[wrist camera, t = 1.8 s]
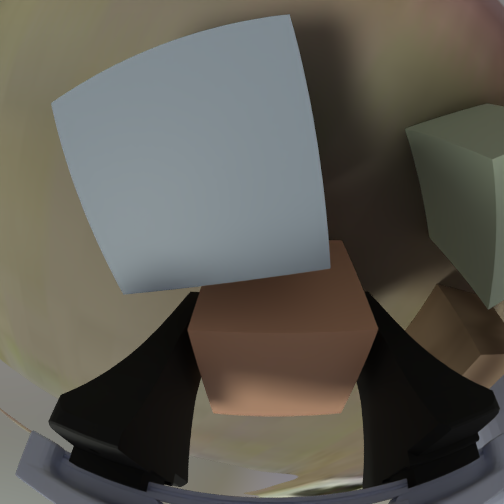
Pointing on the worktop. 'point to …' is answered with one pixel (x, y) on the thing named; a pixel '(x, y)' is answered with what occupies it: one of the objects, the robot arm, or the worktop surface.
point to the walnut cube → (461, 334)
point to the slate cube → (200, 160)
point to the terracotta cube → (284, 340)
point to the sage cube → (465, 192)
